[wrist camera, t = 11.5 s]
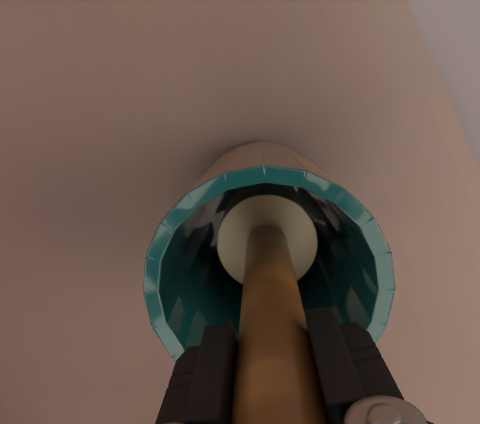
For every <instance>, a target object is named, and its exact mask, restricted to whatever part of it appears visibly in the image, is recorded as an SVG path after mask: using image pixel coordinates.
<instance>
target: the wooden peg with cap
mask: <svg viewBox="0 0 480 424" xmlns="http://www.w3.org/2000/svg"><path fill="white" fill-rule="evenodd" d="M317 245H318V239H317V232H316V228H315V226H314V223H313V221H312V219H311V217H310V216H309V214H308V212H307V210H306V208H305V206H304V204H303V203H302V201H301V199H300V197H299V195H298V194H297V192H296V191H295V190H294V189H293V188H292V187H291V186H286V185H278V184H271V183H261V184H256V185H250V186H245V187H239V188H237V189H236V190H235V191H234V192H233V194H232V195H231V197H230V199H229V201H228V204H227V207H226V209H225V212H224V215H223V218H222V221H221V223H220V226H219V230H218V233H217V251H218V255H219V258H220V261H221V263H222V265H223V267H224V268H225V270H226V271H227V272H228V273H229V274H230V275H231V276H232V277H233V278H234V279H235V280H236V281H238V282H239V283H241V284H243V290H242V301H241V312H240V323H239V335H238V346H237V357H236V368H235V380H234V391H233V402H232V413H231V424H329V422H328V418H327V413H326V409H325V405H324V400H323V396H322V392H321V387H320V383H319V379H318V375H317V370H316V366H315V362H314V357H313V353H312V349H311V344H310V340H309V336H308V331H307V326H306V320H305V314H304V310H303V306H302V301H301V297H300V293H299V289H298V285H297V281H298V280H299V279H300V278H301V277H303V276H304V275H305V274H306V272H307V271H308V270H309V268H310V267H311V265H312V263H313V261H314V259H315V256H316V252H317Z"/></svg>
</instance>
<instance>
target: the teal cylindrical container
mask: <svg viewBox="0 0 480 424" xmlns="http://www.w3.org/2000/svg"><path fill="white" fill-rule="evenodd" d="M261 183H271V184H278V185H286V186H291V187H292V188H293V189H294V190H295V191H296V192H297V194H298V195H299V197H300V199H301V201H302V203H303V204H304V206H305V208H306V210H307V212H308V214H309V216H310V217H311V219H312V221H313V223H314V226H315V228H316V232H317V239H318V245H317V252H316V256H315V259H314V261H313V263H312V265H311V267H310V268H309V270H308V271H307V272H306V274H305V275H304V276H303V277H301V278H300V279H299V280H298V281H297V285H298V289H299V293H300V297H301V301H302V306H303V310H304V311H306V310H313V309H319V308H326V307H332V310H333V312H334V315H335V317H336V320H337V323H338V325H341V324H348V323H357V324H358V325H360V326H361V327H363V328H364V329H366V330H367V331H368V332H369V333H370V335H371V337H372V339H373V341H374V342H375V344H376V342H377V340H378V339H379V337H380V336H381V334H382V332H383V331H384V329H385V328H386V324H387V322H388V318H389V314H390V309H391V305H392V301H393V297H394V292H395V279H394V271H393V262H392V253H391V251H390V248H389V246H388V244H387V242H386V240H385V238H384V236H383V234H382V232H381V230H380V228H379V226H378V224H377V222H376V220H375V218H374V217H373V215H372V214H371V213H370V212H369V211H368V210H367V209H366V208H365V207H364V206H363V205H362V204H361V203H360V202H359V201H358V200H357V199H356V198H355V197H354V196H353V195H352V194H351V193H350V192H348V191H347V190H346V189H345V188H344V187H343V186H341V185H340V184H339V183H338V182H336V181H335V180H334V179H332V178H331V177H330V176H329V175H327V174H326V173H325V172H324V171H322V170H321V169H320V168H318V167H317V166H316V165H315V164H313V163H312V162H311V161H310V160H308V159H307V158H306V157H304V156H303V155H302V154H301V153H299V152H297V151H295V150H293V149H291V148H289V147H286V146H284V145H281V144H277V143H271V142H254V143H248V144H245V145H241V146H238V147H236V148H234V149H232V150H231V151H229V152H227V153H226V154H224V155H222V156H221V157H220V158H219V159H218V160H217V161H216V162H215V163H214V164H213V165H212V166H211V167H210V168H209V169H208V170H207V172H206V173H205V174H204V175H203V176H202V177H201V178H200V179H199V180H198V181H197V182H196V183H195V184H194V185H193V186H192V187H191V188H190V189H189V191H188V192H187V193H186V194H185V195H184V196H183V197H182V198H181V199H180V200H179V201H178V202H177V204H176V205H175V206H174V207H173V208H172V209H171V210H170V211H169V212H168V213H167V214H166V216H165V217H164V218H163V219H162V220H161V222H160V223H159V225H158V228H157V230H156V232H155V235H154V237H153V239H152V242H151V244H150V246H149V249H148V251H147V253H146V257H145V268H144V282H143V292H144V293H143V295H144V299H145V302H146V306H147V310H148V314H149V317H150V321H151V325H152V327H153V329H154V331H155V332H156V334H157V336H158V337H159V339H160V340H161V342H162V343H163V345H164V346H165V348H166V349H167V351H168V352H169V354H170V355H171V356H172V357H173V359H174V360H176V361H177V359H178V358H179V357H180V356H181V354H182V353H183V352H184V351H185V350H186V349H187V348H188V347H192V346H198V345H200V344H201V340H202V336H203V332H204V328H205V326H207V325H213V324H220V323H226V322H232V323H233V325H234V329H235V333H236V338H237V342H238V335H239V323H240V312H241V301H242V290H243V284H241V283H239V282H238V281H236V280H235V279H234V278H233V277H232V276H231V275H230V274H229V273H228V272H227V271H226V270H225V268H224V267H223V265H222V263H221V261H220V258H219V255H218V251H217V233H218V230H219V226H220V223H221V221H222V218H223V215H224V212H225V209H226V207H227V204H228V201H229V199H230V197H231V195H232V194H233V192H234V191H235V190H236V189H237V188H239V187H245V186H250V185H256V184H261ZM304 314H305V313H304Z"/></svg>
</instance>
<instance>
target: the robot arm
mask: <svg viewBox="0 0 480 424" xmlns="http://www.w3.org/2000/svg"><path fill="white" fill-rule="evenodd" d="M304 313H305V320H306V326H307V331H308V336H309V340H310V344H311V349H312V353H313V357H314V362H315V366H316V370H317V375H318V379H319V383H320V387H321V392H322V396H323V400H324V405H325V409H326V413H327V418H328V422H329V424H433V423H431V422H429V421H427V420H426V419H425V417H424V415H423V414H422V413H421V412H420V410H418V409H417V408H416V407H415V406H413V405H412V404H410V403H409V402H407V401H405V400H404V398H403V396H402V394H401V392H400V391H399V389H398V387H397V385H396V383H395V381H394V379H393V377H392V375H391V373H390V371H389V369H388V367H387V366H386V364H385V362H384V360H383V358H382V357H381V354H380V352H379V350H378V348H377V347H376V344H375V342H374V341H373V339H372V337H371V335H370V333H369V332H368V331H367V330H366V329H364V328H363V327H361V326H360V325H358V324H357V323H348V324H341V325H338V323H337V320H336V317H335V315H334V312H333V310H332V307H326V308H319V309H313V310H306V311H304ZM237 346H238V342H237V338H236V333H235V329H234V325H233V323H232V322H226V323H220V324H213V325H207V326H205V328H204V332H203V336H202V340H201V344H200V345H198V346H192V347H188V348H187V349H186V350H185V351H184V352H183V353H182V354H181V356H180V357H179V358H178V359H177V361H176V364H175V367H174V370H173V372H172V376H171V378H170V381H169V384H168V386H169V388H167V390H166V393H165V396H164V399H163V402H162V405H161V408H160V411H159V414H158V417H157V420H156V423H155V424H231V413H232V402H233V391H234V380H235V368H236V357H237Z"/></svg>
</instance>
